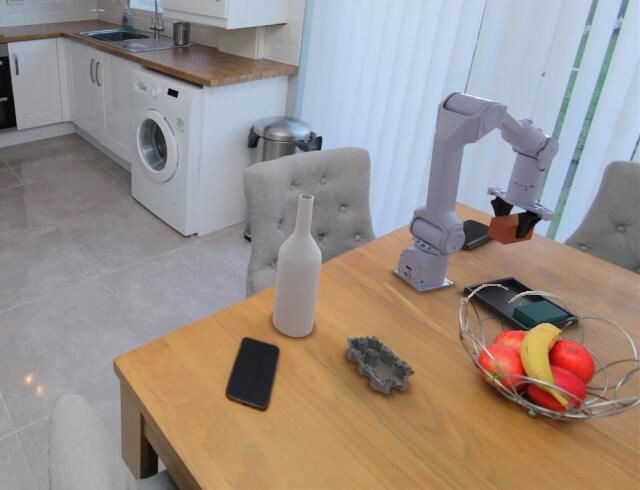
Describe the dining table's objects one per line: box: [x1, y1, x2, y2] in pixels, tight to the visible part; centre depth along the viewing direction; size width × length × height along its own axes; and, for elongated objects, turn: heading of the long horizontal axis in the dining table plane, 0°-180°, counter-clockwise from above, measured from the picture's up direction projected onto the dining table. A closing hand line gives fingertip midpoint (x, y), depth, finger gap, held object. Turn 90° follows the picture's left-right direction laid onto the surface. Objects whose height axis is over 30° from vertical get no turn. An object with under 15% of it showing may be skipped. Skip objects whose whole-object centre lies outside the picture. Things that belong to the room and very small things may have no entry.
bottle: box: [272, 193, 323, 338], centre depth 95 cm, size 8×8×30 cm
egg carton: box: [346, 335, 415, 395], centre depth 88 cm, size 11×8×4 cm
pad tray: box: [463, 276, 581, 331], centre depth 102 cm, size 13×14×2 cm
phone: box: [460, 219, 493, 251], centre depth 129 cm, size 8×1×15 cm
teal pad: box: [512, 300, 568, 328], centre depth 98 cm, size 8×4×2 cm, turn 104°
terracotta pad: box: [487, 212, 536, 246], centre depth 117 cm, size 8×5×5 cm, turn 104°
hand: (510, 232), depth 117 cm, fingers closed on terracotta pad, 4 cm apart
